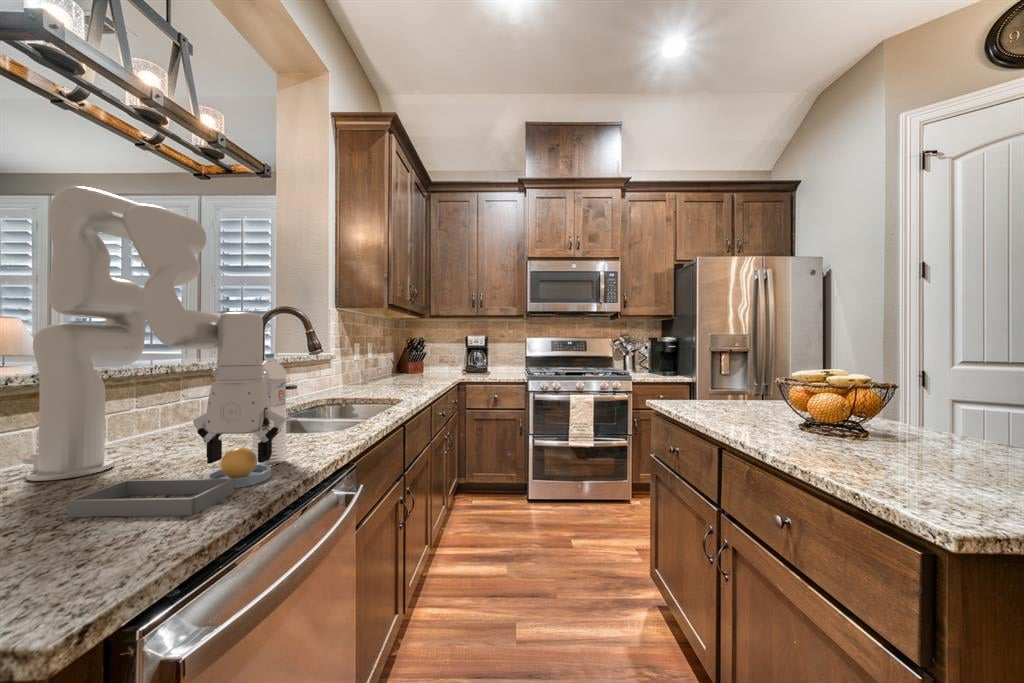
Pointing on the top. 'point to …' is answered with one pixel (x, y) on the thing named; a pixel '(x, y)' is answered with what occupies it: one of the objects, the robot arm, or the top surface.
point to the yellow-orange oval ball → (238, 462)
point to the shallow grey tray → (110, 505)
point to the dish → (254, 477)
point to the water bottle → (274, 408)
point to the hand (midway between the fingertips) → (239, 461)
